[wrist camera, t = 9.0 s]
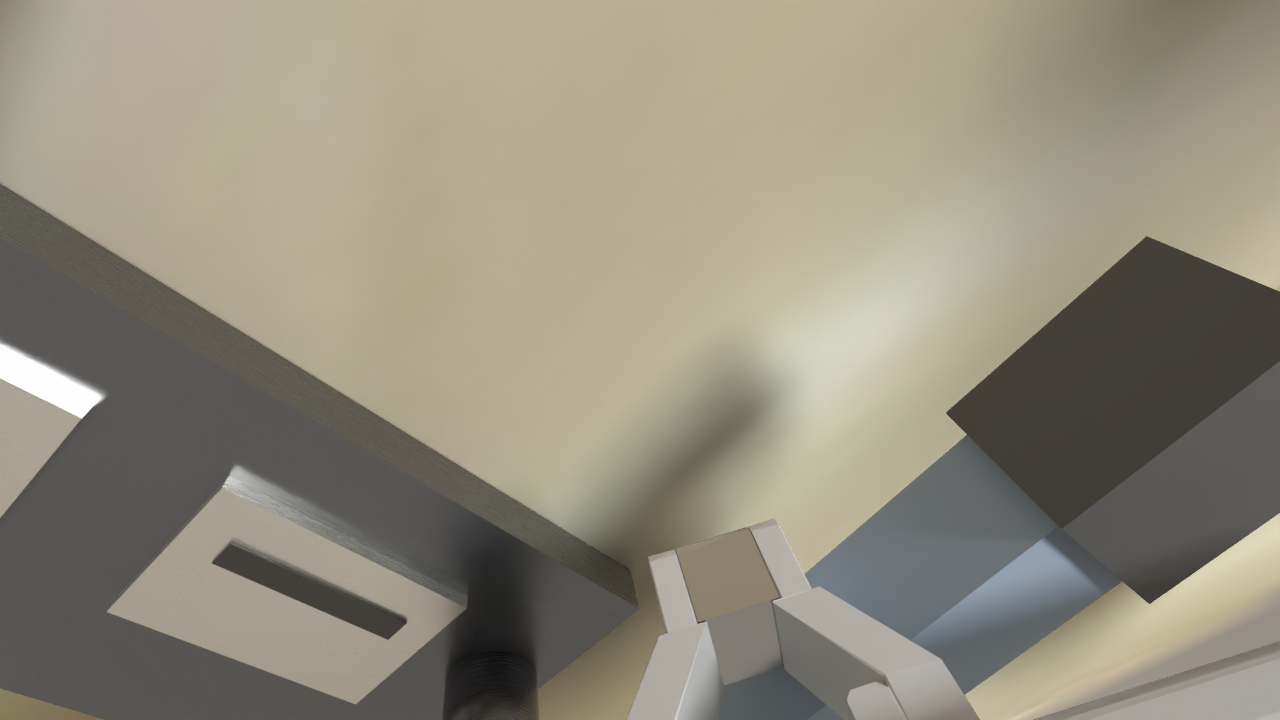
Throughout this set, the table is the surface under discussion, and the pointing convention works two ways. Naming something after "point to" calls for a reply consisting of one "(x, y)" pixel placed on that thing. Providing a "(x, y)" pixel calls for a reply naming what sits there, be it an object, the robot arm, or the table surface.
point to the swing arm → (1072, 475)
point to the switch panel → (247, 524)
